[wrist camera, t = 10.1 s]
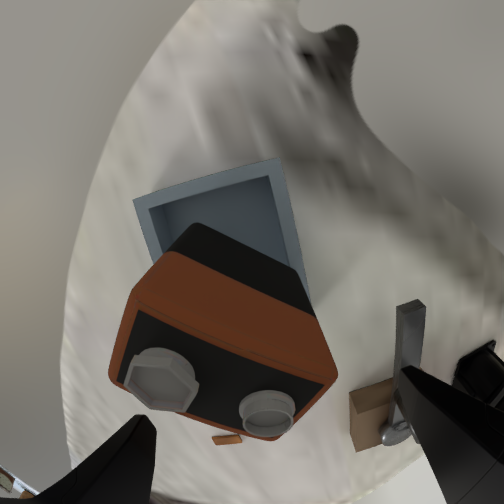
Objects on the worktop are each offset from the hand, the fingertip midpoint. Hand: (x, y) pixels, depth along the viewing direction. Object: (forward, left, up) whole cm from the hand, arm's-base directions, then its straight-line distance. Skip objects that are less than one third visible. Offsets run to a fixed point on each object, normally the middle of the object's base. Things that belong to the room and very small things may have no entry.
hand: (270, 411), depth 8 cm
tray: (+1, -2, -12) cm, 12 cm away
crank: (-10, +12, -9) cm, 18 cm away
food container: (+131, +72, -12) cm, 151 cm away
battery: (+1, -2, -9) cm, 10 cm away
